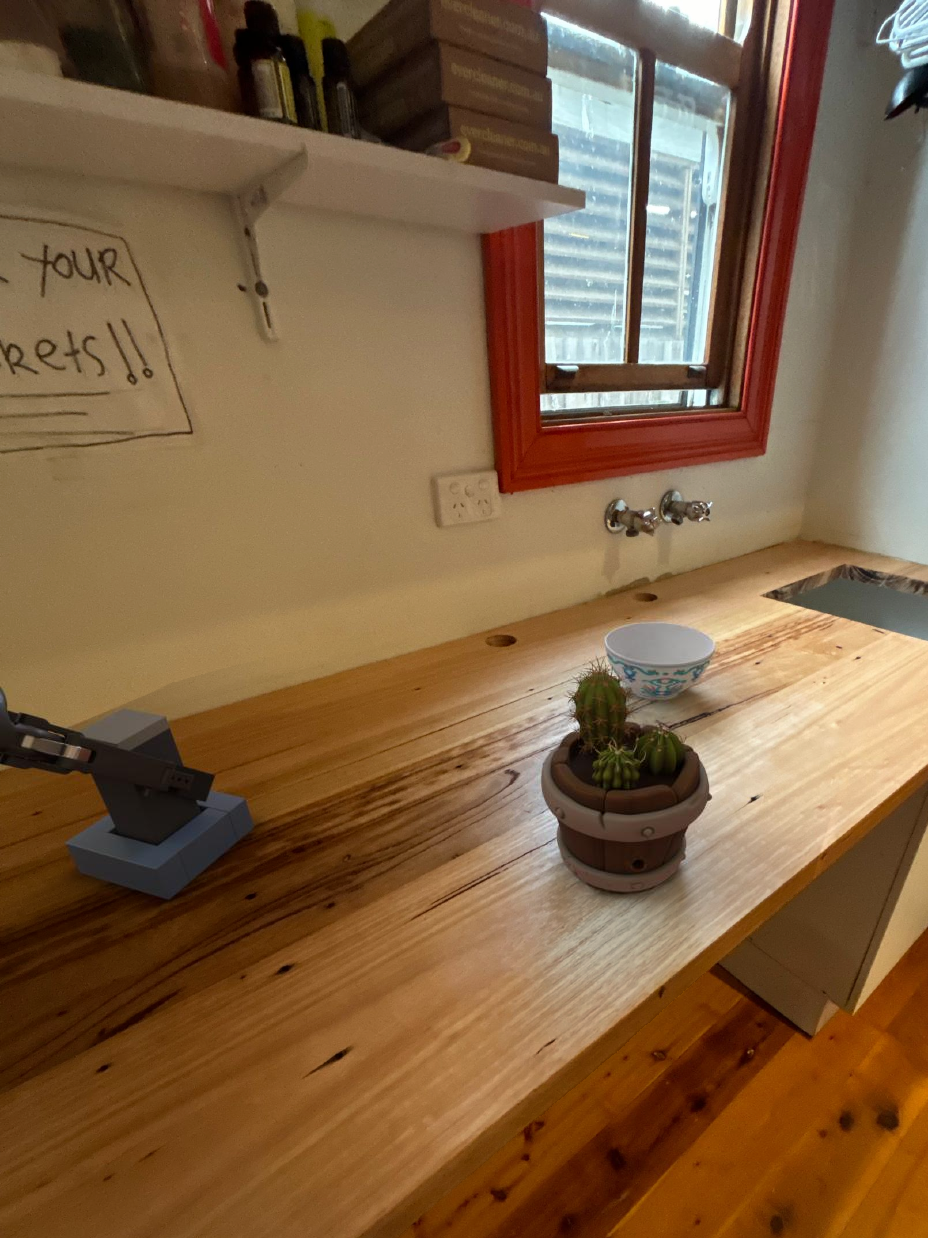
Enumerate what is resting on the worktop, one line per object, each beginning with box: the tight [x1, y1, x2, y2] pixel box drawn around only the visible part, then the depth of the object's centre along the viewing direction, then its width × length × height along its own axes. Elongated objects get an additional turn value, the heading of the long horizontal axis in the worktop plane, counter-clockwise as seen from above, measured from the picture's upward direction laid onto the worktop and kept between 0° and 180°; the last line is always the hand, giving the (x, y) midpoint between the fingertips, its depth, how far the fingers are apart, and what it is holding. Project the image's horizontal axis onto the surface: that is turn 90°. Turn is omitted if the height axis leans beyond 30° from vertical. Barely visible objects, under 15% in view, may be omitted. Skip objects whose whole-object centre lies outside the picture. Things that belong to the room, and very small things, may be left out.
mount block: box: [64, 789, 255, 900], centre depth 62 cm, size 11×11×4 cm
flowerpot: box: [540, 654, 713, 895], centre depth 56 cm, size 14×15×20 cm
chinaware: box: [604, 621, 716, 701], centre depth 90 cm, size 15×15×8 cm
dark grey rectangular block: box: [78, 707, 201, 846], centre depth 58 cm, size 5×5×12 cm
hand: (184, 782), depth 63 cm, fingers closed on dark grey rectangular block, 5 cm apart
